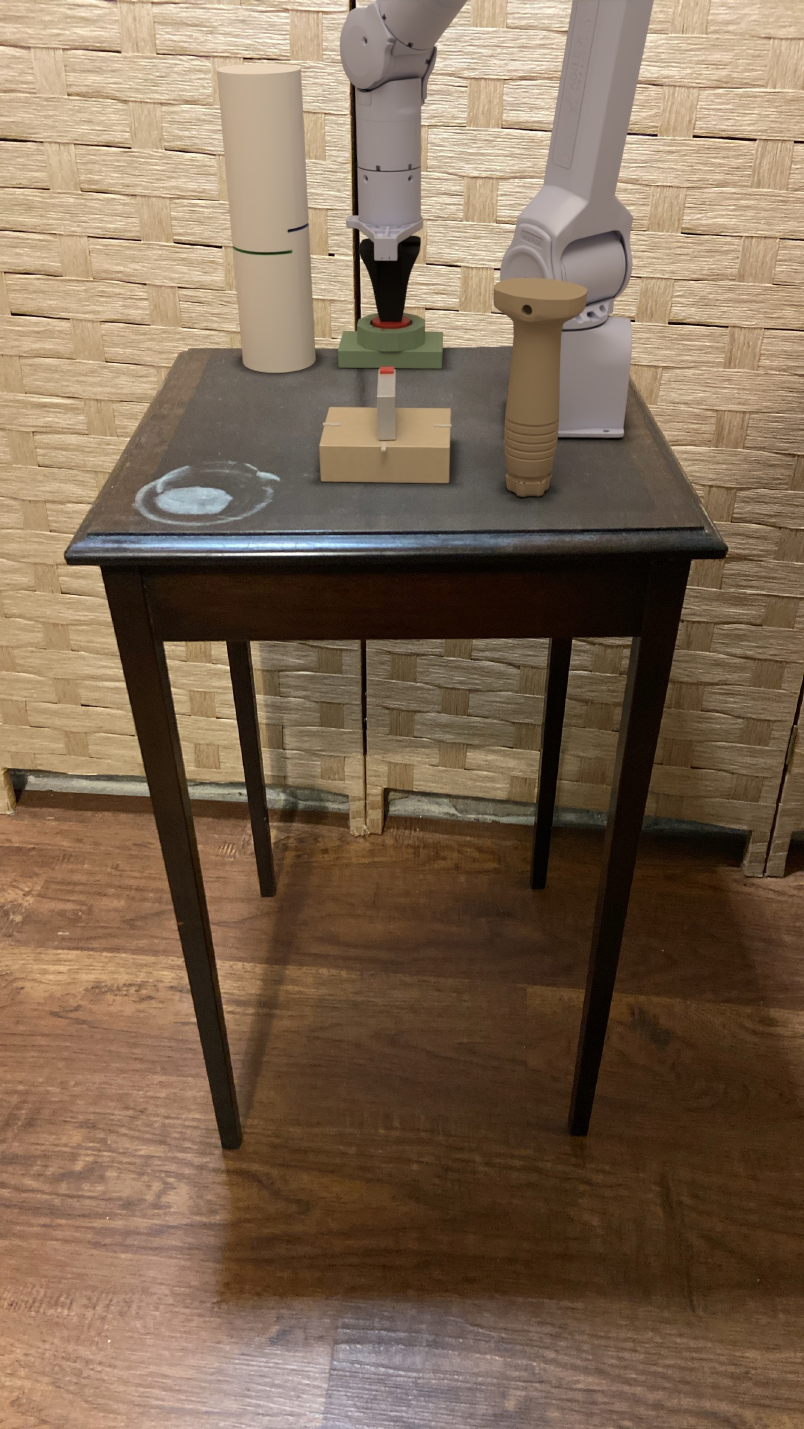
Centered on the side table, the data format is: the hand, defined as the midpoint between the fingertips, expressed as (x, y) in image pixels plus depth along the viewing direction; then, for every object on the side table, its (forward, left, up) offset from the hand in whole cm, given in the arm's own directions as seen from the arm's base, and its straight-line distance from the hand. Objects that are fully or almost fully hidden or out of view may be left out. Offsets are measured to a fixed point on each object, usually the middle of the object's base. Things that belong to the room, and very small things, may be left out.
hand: (391, 319), depth 109 cm
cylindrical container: (+11, +1, -4) cm, 12 cm away
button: (0, 0, -2) cm, 2 cm away
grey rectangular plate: (-1, +25, -1) cm, 25 cm away
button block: (0, 0, -4) cm, 4 cm away
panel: (-1, +25, -4) cm, 25 cm away
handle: (-12, +30, -4) cm, 33 cm away
